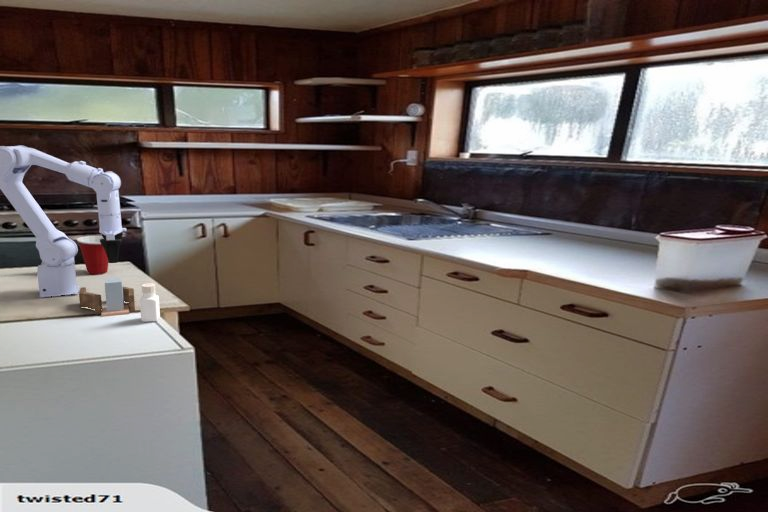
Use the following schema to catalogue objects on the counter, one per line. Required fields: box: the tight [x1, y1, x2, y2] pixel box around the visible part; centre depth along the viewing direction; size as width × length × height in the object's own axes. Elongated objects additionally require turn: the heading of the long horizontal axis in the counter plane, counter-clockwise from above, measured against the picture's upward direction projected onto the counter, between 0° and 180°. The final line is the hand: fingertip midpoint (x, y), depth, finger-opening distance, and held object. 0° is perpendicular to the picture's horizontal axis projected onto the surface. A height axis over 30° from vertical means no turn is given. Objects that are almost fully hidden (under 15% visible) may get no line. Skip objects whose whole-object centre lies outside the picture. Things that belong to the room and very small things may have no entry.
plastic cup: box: [76, 235, 110, 276], centre depth 173 cm, size 11×11×12 cm
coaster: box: [100, 304, 130, 317], centre depth 139 cm, size 7×6×1 cm
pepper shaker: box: [139, 282, 161, 323], centre depth 133 cm, size 4×4×10 cm
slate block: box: [104, 277, 125, 312], centre depth 139 cm, size 4×4×8 cm
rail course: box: [78, 286, 136, 315], centre depth 142 cm, size 13×12×4 cm
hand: (113, 259), depth 152 cm, fingers open, 7 cm apart
